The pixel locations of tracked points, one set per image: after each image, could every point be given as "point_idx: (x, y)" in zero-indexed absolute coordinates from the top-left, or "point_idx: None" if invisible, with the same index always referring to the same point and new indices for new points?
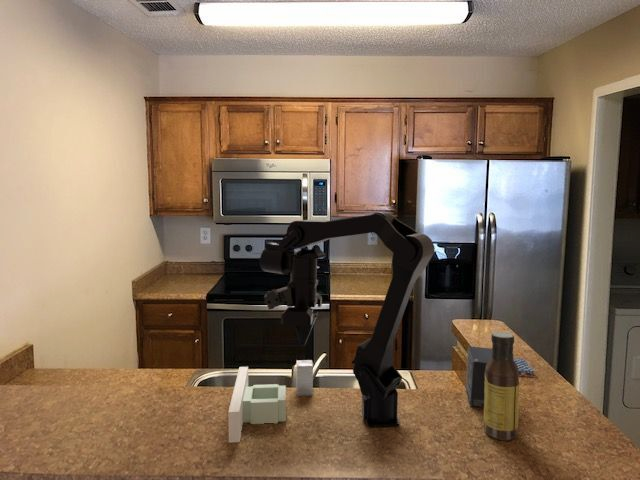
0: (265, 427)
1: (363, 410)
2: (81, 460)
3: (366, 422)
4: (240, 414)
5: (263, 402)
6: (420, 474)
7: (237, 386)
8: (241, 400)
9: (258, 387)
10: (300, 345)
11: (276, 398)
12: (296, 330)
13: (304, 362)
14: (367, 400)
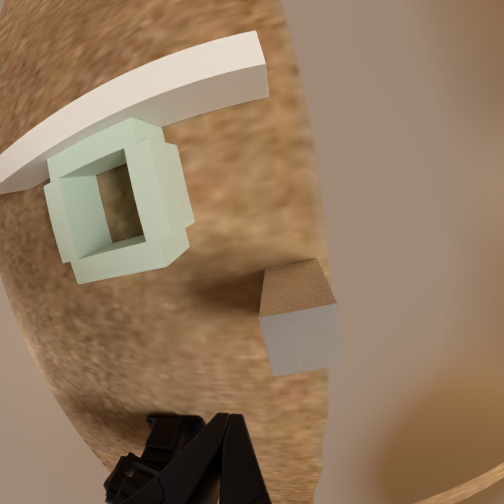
0: None
1: (155, 428)
2: (13, 11)
3: (155, 417)
4: (9, 185)
5: (51, 222)
6: (77, 431)
7: (67, 114)
8: (9, 176)
9: (130, 166)
10: (217, 414)
11: (76, 255)
12: (142, 489)
13: (311, 341)
14: (144, 449)
